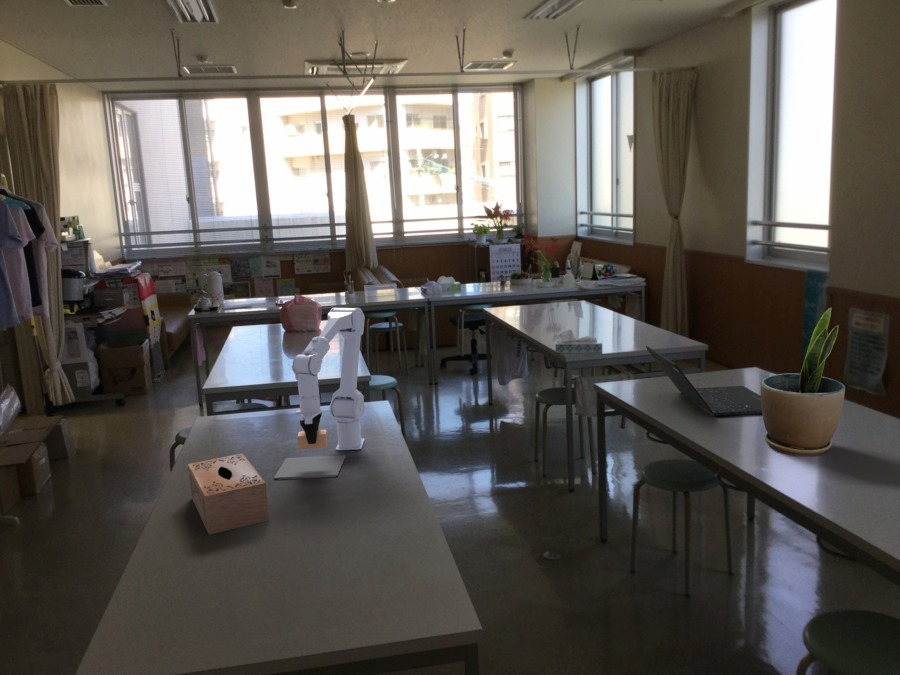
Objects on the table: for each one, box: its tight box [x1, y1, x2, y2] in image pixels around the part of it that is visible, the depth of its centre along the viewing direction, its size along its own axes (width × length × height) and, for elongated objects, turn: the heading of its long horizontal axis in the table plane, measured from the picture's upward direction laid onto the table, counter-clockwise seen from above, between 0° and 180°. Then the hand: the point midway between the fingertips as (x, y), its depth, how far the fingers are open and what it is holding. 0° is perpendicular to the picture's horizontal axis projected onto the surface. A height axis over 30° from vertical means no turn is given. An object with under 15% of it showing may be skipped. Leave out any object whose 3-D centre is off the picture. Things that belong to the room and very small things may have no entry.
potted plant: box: [760, 307, 846, 457], centre depth 208 cm, size 21×22×40 cm
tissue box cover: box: [187, 452, 270, 536], centre depth 187 cm, size 26×14×10 cm, turn 28°
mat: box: [273, 455, 347, 480], centre depth 214 cm, size 16×18×1 cm
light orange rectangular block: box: [296, 429, 329, 450], centre depth 212 cm, size 8×4×4 cm, turn 95°
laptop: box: [645, 345, 763, 417], centre depth 257 cm, size 33×38×19 cm
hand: (313, 440), depth 213 cm, fingers closed on light orange rectangular block, 4 cm apart
